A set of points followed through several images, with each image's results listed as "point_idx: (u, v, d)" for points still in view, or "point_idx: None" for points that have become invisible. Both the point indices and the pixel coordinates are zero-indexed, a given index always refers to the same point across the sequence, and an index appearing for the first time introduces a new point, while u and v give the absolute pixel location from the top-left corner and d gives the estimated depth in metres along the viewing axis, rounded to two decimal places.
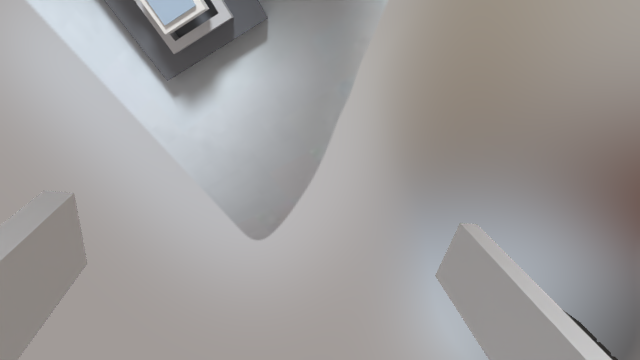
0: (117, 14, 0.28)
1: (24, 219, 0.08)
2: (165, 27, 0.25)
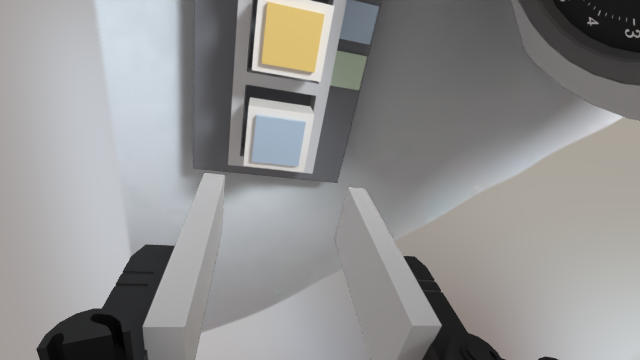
0: (196, 83, 0.22)
1: (207, 192, 0.10)
2: (250, 161, 0.20)
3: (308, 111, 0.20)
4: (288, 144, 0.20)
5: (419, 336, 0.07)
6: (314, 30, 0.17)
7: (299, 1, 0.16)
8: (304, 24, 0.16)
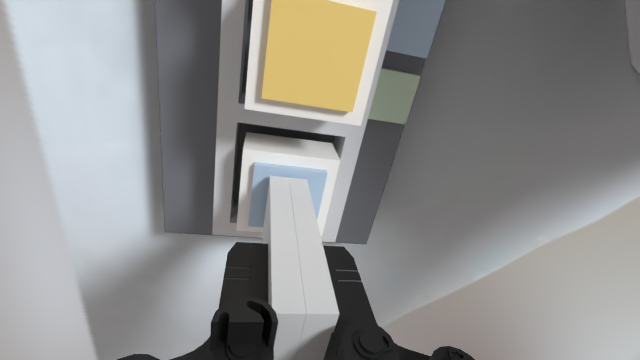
0: (163, 116, 0.14)
1: (279, 193, 0.11)
2: (246, 224, 0.14)
3: (330, 153, 0.14)
4: None
5: (316, 325, 0.07)
6: (356, 40, 0.09)
7: None
8: (339, 30, 0.09)
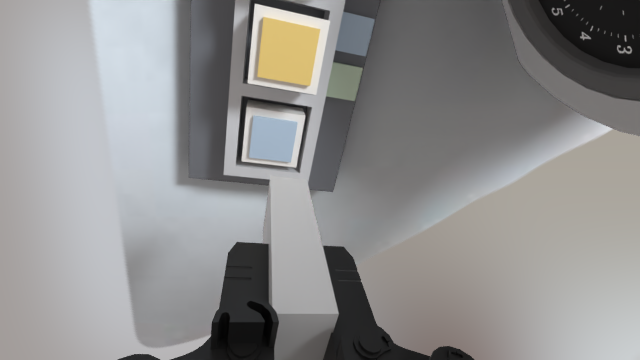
0: (192, 93, 0.22)
1: (279, 193, 0.11)
2: (247, 157, 0.22)
3: (300, 112, 0.22)
4: (282, 142, 0.22)
5: (316, 325, 0.07)
6: (310, 45, 0.17)
7: (295, 16, 0.16)
8: (300, 39, 0.17)
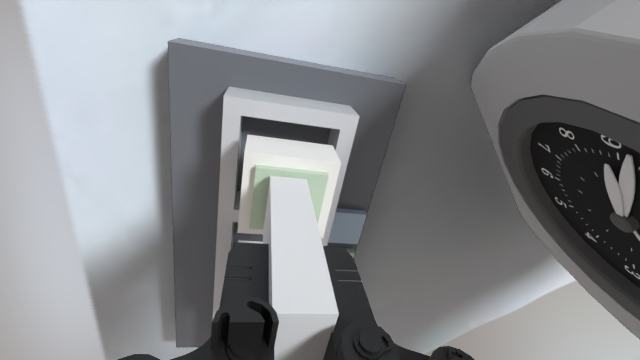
0: (176, 284, 0.21)
1: (279, 194, 0.11)
2: None
3: None
4: None
5: (316, 325, 0.07)
6: None
7: None
8: None
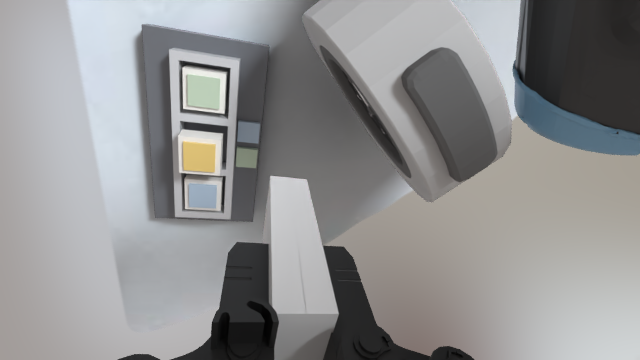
0: (153, 169, 0.36)
1: (279, 193, 0.11)
2: (188, 206, 0.36)
3: (219, 178, 0.36)
4: (208, 197, 0.36)
5: (316, 325, 0.07)
6: (211, 153, 0.31)
7: (201, 139, 0.31)
8: (204, 150, 0.31)
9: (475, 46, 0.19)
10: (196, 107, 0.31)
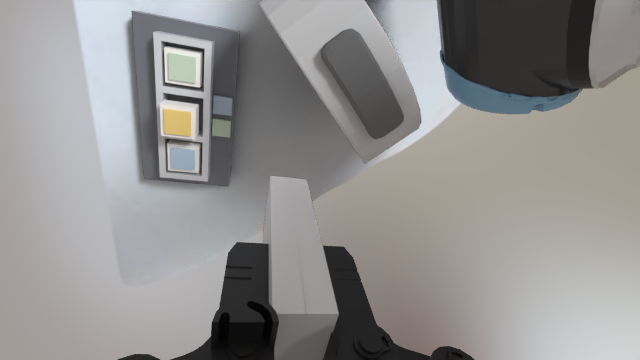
0: (141, 135, 0.42)
1: (279, 193, 0.11)
2: (171, 168, 0.43)
3: (197, 145, 0.43)
4: (187, 160, 0.42)
5: (316, 325, 0.07)
6: (187, 119, 0.37)
7: (178, 107, 0.37)
8: (182, 117, 0.37)
9: (376, 28, 0.25)
10: (176, 81, 0.38)
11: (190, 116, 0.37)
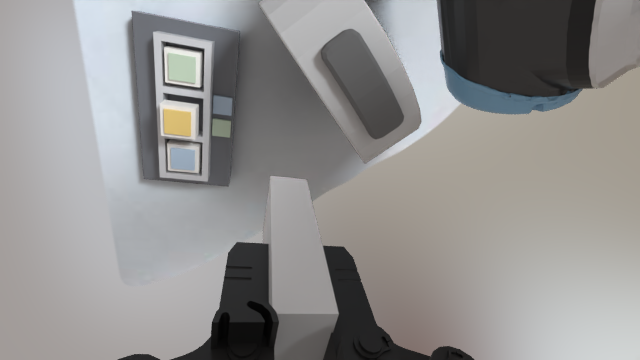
0: (141, 135, 0.42)
1: (279, 193, 0.11)
2: (171, 168, 0.43)
3: (197, 145, 0.43)
4: (187, 160, 0.42)
5: (316, 325, 0.07)
6: (187, 119, 0.37)
7: (178, 107, 0.37)
8: (182, 117, 0.37)
9: (376, 28, 0.25)
10: (176, 81, 0.38)
11: (190, 116, 0.37)
